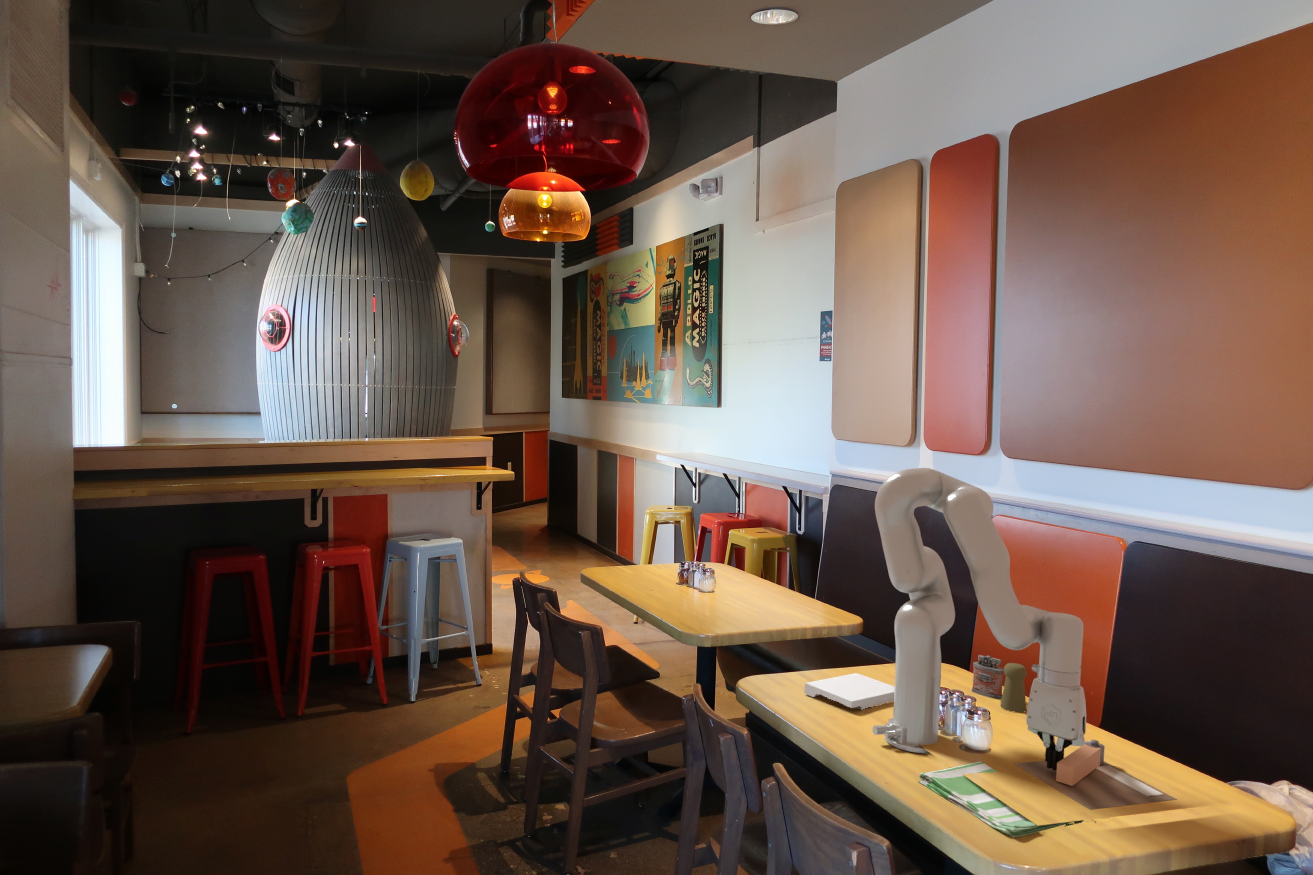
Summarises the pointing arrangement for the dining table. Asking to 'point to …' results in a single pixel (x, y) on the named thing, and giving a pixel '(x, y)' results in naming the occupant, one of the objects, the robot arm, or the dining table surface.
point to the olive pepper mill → (1014, 688)
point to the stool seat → (1100, 786)
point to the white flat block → (852, 690)
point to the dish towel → (981, 800)
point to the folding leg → (1080, 763)
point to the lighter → (988, 677)
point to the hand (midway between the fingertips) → (1053, 766)
